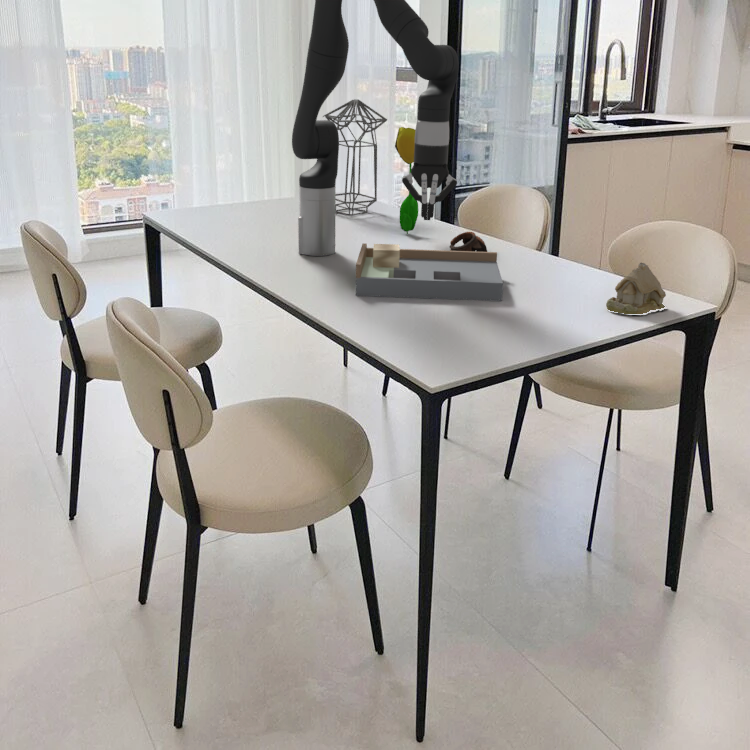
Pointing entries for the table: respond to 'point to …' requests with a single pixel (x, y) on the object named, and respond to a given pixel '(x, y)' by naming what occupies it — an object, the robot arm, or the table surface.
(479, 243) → the brown curved piece
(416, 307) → the table surface
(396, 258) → the maple block
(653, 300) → the ceramic model
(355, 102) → the geometric lantern
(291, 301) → the table surface
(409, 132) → the flower
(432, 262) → the board
